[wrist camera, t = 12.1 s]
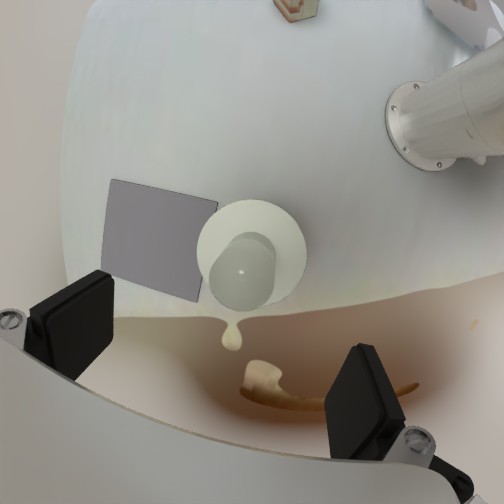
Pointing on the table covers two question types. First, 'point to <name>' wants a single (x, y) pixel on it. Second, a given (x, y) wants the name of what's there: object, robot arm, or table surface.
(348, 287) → the table surface
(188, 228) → the mat
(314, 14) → the skincare box
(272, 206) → the lid
